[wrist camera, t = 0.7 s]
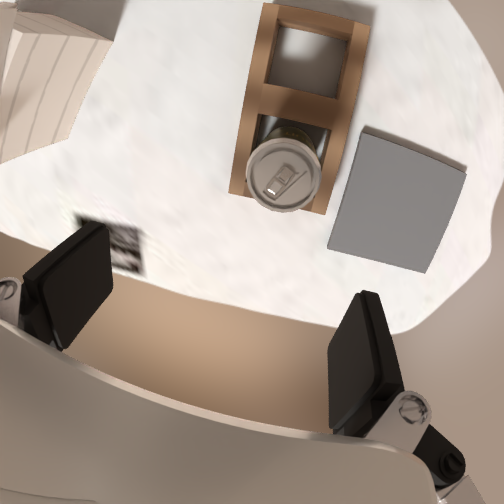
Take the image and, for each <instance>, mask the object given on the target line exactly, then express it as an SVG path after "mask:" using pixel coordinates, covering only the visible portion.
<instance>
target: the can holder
mask: <svg viewBox="0 0 504 504" xmlns="http://www.w3.org/2000/svg"><path fill="white" fill-rule="evenodd" d="M279 26H281V27H287V28H292V29H298V30H303V31H308V32H312V33H317V34H321V35H325V36H329V37H333V38H337V39H340V40H344V41H347V43H346V48H345V53H344V58H343V63H342V68H341V72H340V77H339V82H338V86H337V91H336V95H335V99H333V98H329V97H325V96H321V95H317V94H313V93H309V92H305V91H300V90H296V89H291V88H286V87H281V86H276V85H271V84H268V80H269V75H270V70H271V65H272V60H273V55H274V50H275V45H276V40H277V36H278V31H279ZM369 32H370V26H368V25H365V24H362V23H359V22H355V21H352V20H349V19H345V18H342V17H338V16H334V15H330V14H326V13H322V12H317V11H313V10H308V9H303V8H297V7H292V6H286V5H279V4H272V3H263V7H262V12H261V16H260V21H259V26H258V30H257V35H256V40H255V45H254V50H253V55H252V60H251V65H250V70H249V75H248V81H247V86H246V91H245V97H244V102H243V108H242V113H241V119H240V125H239V130H238V136H237V142H236V148H235V154H234V160H233V166H232V173H231V179H230V185H229V192H228V193H230V194H235V195H240V196H245V197H249V198H254V197H253V196H252V194H251V192H250V190H249V188H248V184H247V179H246V168H247V162H248V160H249V158H250V156H251V154H252V152H253V151H254V150H255V148H256V142H257V137H258V132H259V126H260V121H261V116H262V114H264V115H269V116H275V117H279V118H284V119H289V120H293V121H298V122H302V123H306V124H310V125H314V126H318V127H322V128H326V129H328V130H327V134H326V139H325V143H324V147H323V151H322V155H321V159H320V166H321V175H322V178H321V183H320V187H319V189H318V191H317V193H316V194H315V196H314V197H313V199H312V200H311V201H310V202H309V203H308V204H307V205H305V206H304V207H303V208H300V209H302V210H306V211H310V212H314V213H318V214H322V215H325V213H326V210H327V207H328V203H329V200H330V197H331V193H332V190H333V186H334V182H335V179H336V175H337V172H338V168H339V164H340V161H341V157H342V153H343V149H344V145H345V142H346V138H347V134H348V130H349V126H350V122H351V117H352V113H353V109H354V105H355V100H356V96H357V92H358V87H359V82H360V78H361V73H362V68H363V63H364V58H365V53H366V48H367V43H368V37H369Z"/></svg>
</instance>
